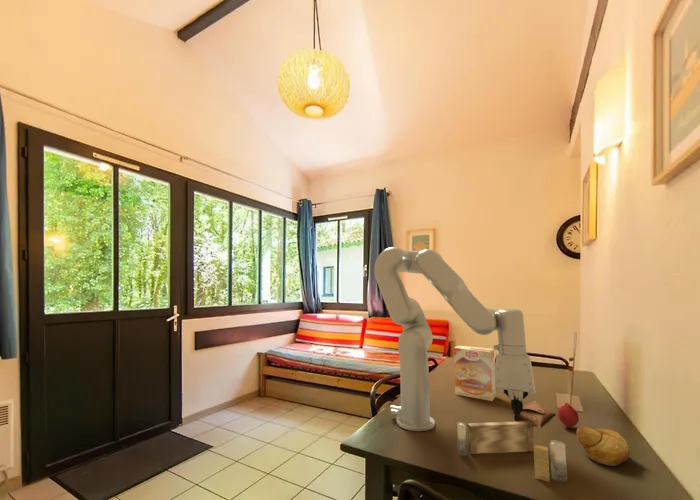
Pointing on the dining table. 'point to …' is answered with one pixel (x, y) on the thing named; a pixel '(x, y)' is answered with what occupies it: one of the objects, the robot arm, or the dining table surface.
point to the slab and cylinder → (556, 462)
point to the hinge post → (462, 439)
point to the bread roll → (603, 445)
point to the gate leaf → (500, 437)
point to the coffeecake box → (474, 372)
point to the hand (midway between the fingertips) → (517, 413)
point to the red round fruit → (568, 415)
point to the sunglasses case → (534, 414)
